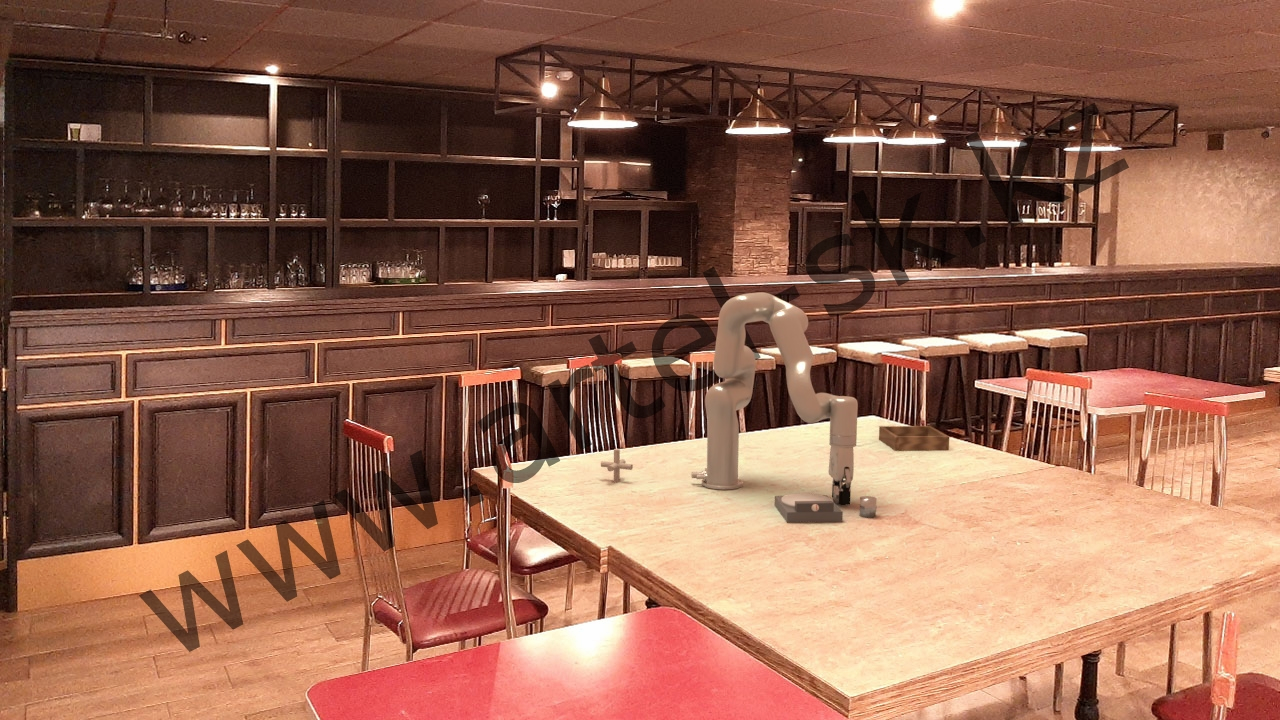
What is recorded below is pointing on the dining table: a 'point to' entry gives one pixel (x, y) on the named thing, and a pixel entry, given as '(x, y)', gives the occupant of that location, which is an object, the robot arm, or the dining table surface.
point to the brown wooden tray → (913, 438)
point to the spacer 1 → (836, 494)
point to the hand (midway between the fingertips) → (840, 500)
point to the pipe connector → (616, 465)
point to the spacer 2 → (867, 507)
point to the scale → (808, 508)
